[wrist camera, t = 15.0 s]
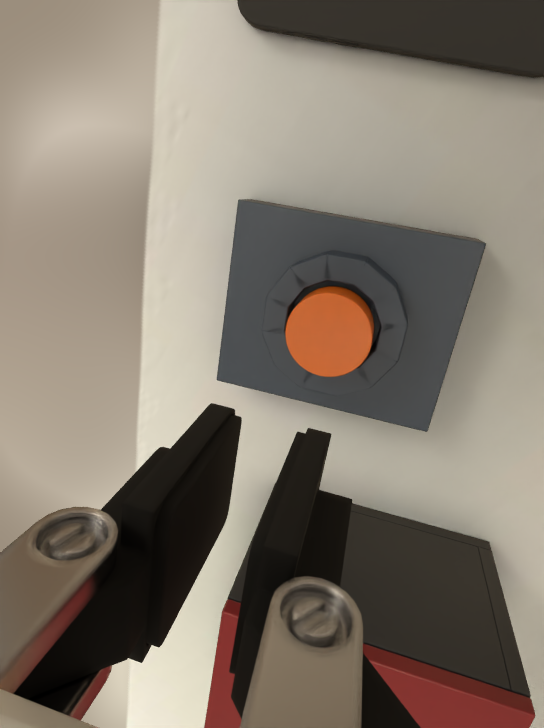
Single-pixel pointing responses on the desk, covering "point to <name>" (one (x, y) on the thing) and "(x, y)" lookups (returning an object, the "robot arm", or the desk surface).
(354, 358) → the button
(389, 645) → the dark grey box
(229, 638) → the lid
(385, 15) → the phone
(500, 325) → the desk surface
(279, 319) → the control block
